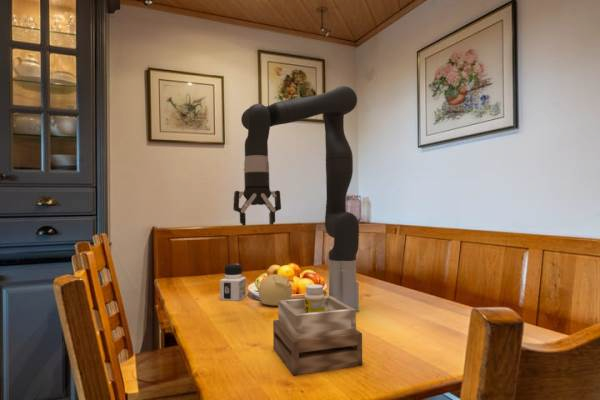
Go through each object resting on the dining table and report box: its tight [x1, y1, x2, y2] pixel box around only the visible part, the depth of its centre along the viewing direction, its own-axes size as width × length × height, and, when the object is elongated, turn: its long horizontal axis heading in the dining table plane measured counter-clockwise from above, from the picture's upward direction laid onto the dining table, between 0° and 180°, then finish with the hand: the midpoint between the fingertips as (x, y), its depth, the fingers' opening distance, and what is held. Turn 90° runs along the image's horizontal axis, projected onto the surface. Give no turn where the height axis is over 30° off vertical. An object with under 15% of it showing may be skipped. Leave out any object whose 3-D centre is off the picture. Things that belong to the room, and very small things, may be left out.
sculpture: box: [258, 273, 293, 307], centre depth 138 cm, size 11×12×11 cm
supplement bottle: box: [304, 284, 326, 313], centre depth 90 cm, size 5×5×8 cm
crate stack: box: [272, 295, 363, 377], centre depth 90 cm, size 16×16×12 cm
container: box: [219, 263, 247, 302], centre depth 147 cm, size 8×8×13 cm
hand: (257, 225), depth 116 cm, fingers open, 8 cm apart
